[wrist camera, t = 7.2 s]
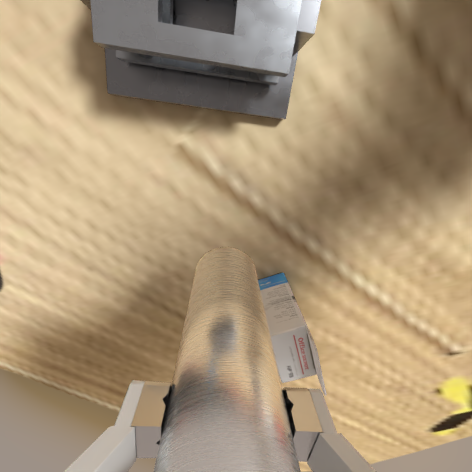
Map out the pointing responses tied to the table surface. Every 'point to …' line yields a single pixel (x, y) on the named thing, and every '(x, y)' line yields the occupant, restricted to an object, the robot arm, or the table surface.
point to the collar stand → (204, 50)
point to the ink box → (289, 332)
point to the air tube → (226, 379)
